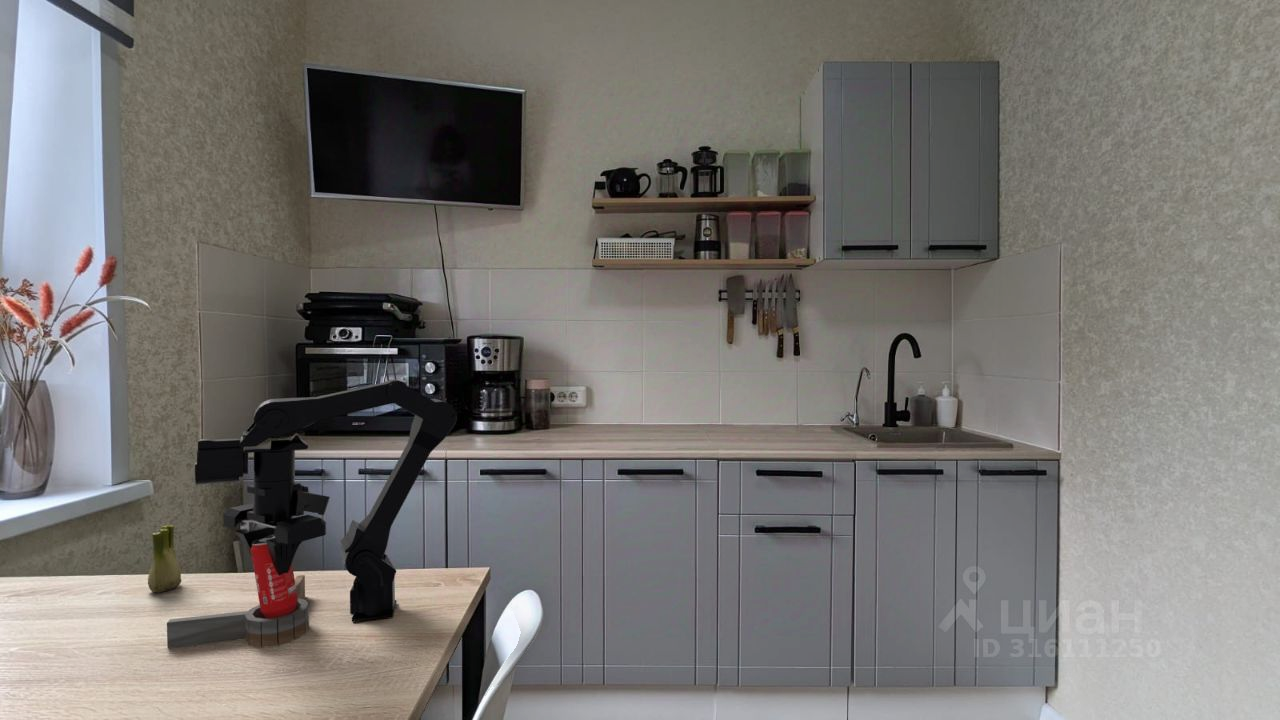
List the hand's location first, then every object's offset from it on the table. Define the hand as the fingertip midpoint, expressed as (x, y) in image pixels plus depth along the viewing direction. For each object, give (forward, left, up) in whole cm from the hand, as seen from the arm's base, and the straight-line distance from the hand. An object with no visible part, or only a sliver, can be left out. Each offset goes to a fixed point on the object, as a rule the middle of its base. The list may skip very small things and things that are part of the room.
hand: (273, 575), depth 99 cm
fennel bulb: (+26, -26, -10) cm, 38 cm away
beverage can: (-1, 0, -6) cm, 6 cm away
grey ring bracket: (+5, -5, -10) cm, 12 cm away
